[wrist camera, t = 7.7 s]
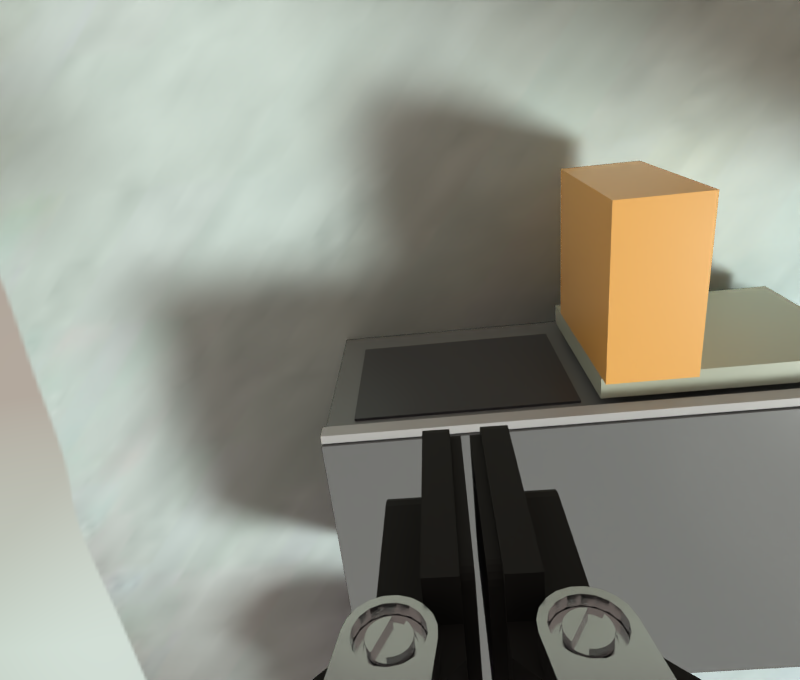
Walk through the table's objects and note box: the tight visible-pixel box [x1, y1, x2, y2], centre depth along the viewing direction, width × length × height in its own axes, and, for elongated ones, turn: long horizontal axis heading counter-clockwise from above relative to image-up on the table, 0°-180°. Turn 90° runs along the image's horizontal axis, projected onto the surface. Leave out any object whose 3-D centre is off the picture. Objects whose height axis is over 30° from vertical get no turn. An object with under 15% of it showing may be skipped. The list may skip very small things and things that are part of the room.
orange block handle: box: [555, 161, 800, 399], centre depth 22 cm, size 9×7×8 cm
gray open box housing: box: [320, 322, 800, 680], centre depth 26 cm, size 22×12×9 cm, turn 96°
